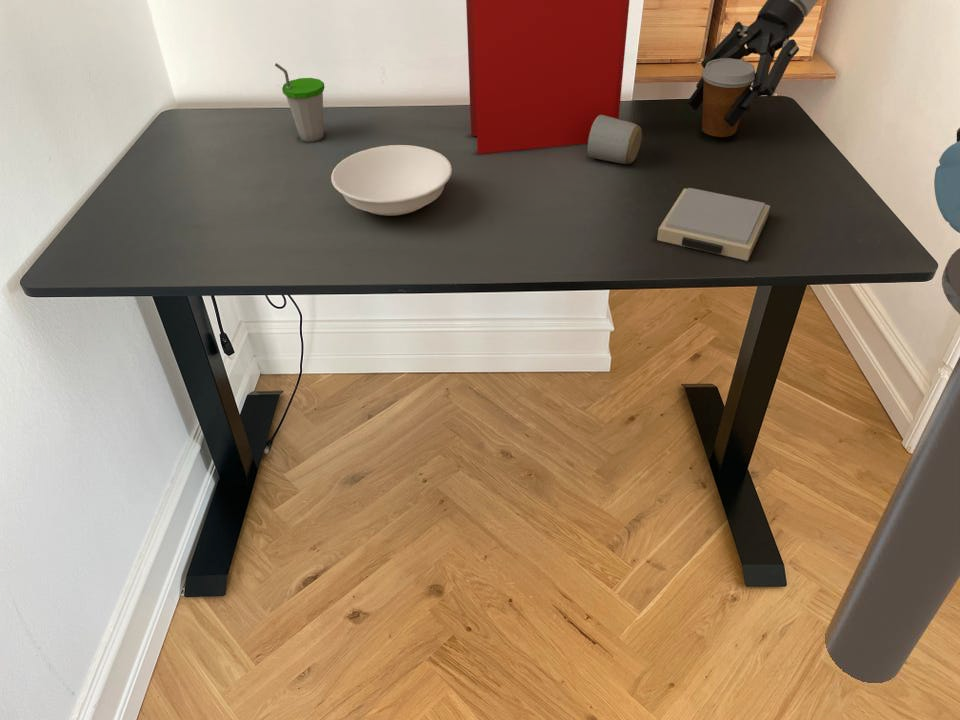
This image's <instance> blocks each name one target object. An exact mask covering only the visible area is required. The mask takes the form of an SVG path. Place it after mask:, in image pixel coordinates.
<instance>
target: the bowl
mask: <svg viewBox="0 0 960 720" xmlns="http://www.w3.org/2000/svg"><path fill="white" fill-rule="evenodd" d="M452 172H453V167H452V165H451V162H450V161H449V159H448V158H447V157H446V156H444V155H443V154H442V153H440V152H438V151H436V150H434V149H430V148H428V147H423V146H419V145H410V144H409V145H408V144H391V145H381V146H376V147H371V148H367V149H364V150H360V151H358V152H355V153H353V154H350V155H349V156H347V157H345V158H343V159H342V160H341V161H340V162H339V163H337V164H336V166H335V167H334V168H333V170H332V173H331V176H330V179H331V184H332V185H333V187H334V188H335V190H337V191H338V192H339V193H340V194H342V196H343V198H344V200H345V201H346V202H347V203H348V204H349V205H350V206H352V207H354V208H355V209H358V210H361V211H365V212H368V213H371V214H373V215H379V216H386V217H387V216H401V215H406V214H410V213H413V212H416V211H419V210H421V209H422V208H423V207H425V206H427V205H429V204H431V203H433V202H434V201H435V200H437V199H438V198H439V197H440V196H441V195H442V194H443V191H444V189H445V185H446V183H448V181H449V180H450V178H451V177H452V175H453V174H452Z"/></svg>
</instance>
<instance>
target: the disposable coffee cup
mask: <svg viewBox="0 0 960 720" xmlns="http://www.w3.org/2000/svg"><path fill="white" fill-rule="evenodd" d="M755 74H756V68H755V65H754V64H752V63H751V62H750V61H747V60H743V59H740V60H739V59H731V58H723V59H715V60H712V61H709V62H708V63H707V64H706V66H705V69H704V68H703V69H702V71H701V77H702V76H703V79H704V87H703V102H702V121H701V122H702V123H701V130H702V132H703V133H705V134H707V135H709V136H712V137H715V138H716V137H717V138H727V137H731V136H733V135H735V134H736V133H737V130H738V127H739V123H740V121H741V118H742V116H741V117H740V118H739V120H738V121H737V122H736V124H735V125H734V126H733V127H732V126H730V125H729V124H728V122H727V121H726V120H725V119H724V118H725V116H726V115H727V114H728V112H729V111H730V110H731V108H732V107H733V106H734V104H735V103H736V101H737V100H738V99H739V97H740V96H741V95H742V93H743V92H744V91H745V89H746V88H747V87H748V88H750V89H751V85H752V84H753V81H754V79H755Z"/></svg>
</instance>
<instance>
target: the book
mask: <svg viewBox="0 0 960 720" xmlns="http://www.w3.org/2000/svg"><path fill="white" fill-rule="evenodd" d="M630 2H631V1H630V0H465V3H466V4H465V5H466V6H465V8H466V33H467V60H468V61H467V62H468V63H467V64H468V87H469V112H470V136H471V137H476V147H477V148H476V151H477V155H480V154H492V153H501V152H511V151H512V152H513V151H521V150H531V149H542V148H553V147H562V146H573V145H583V144H588V139H589V134H590V131H591V127H592V125H593V123H594V121H595V119H596V118H597V117H598V116H599V115H605V116H608V117H612V118H616V119H619V118H620V109H621V98H622V87H623V75H624V65H625V53H626V44H627V43H626V42H627V33H628V20H629V11H630V10H629V9H630Z"/></svg>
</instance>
